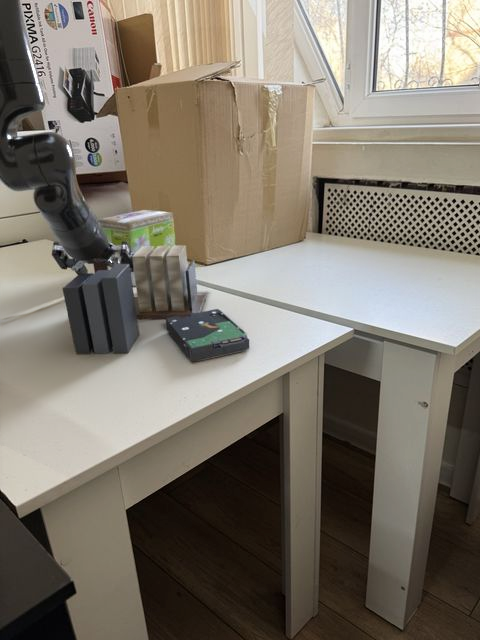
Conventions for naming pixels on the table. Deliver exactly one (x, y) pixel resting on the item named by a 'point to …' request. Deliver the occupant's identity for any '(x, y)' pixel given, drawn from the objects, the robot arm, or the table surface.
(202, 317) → the disk drive
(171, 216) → the tea box
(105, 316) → the grey books
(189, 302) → the stone tile rack
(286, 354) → the table surface
